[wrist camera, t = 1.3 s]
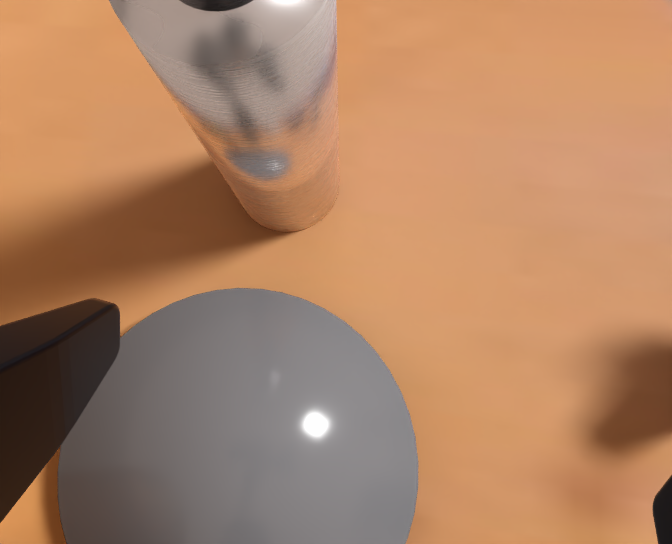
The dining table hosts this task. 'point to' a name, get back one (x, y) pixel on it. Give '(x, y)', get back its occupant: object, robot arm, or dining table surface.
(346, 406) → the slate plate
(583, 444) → the dining table surface
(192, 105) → the pepper mill
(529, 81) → the dining table surface
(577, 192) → the dining table surface
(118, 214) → the dining table surface
